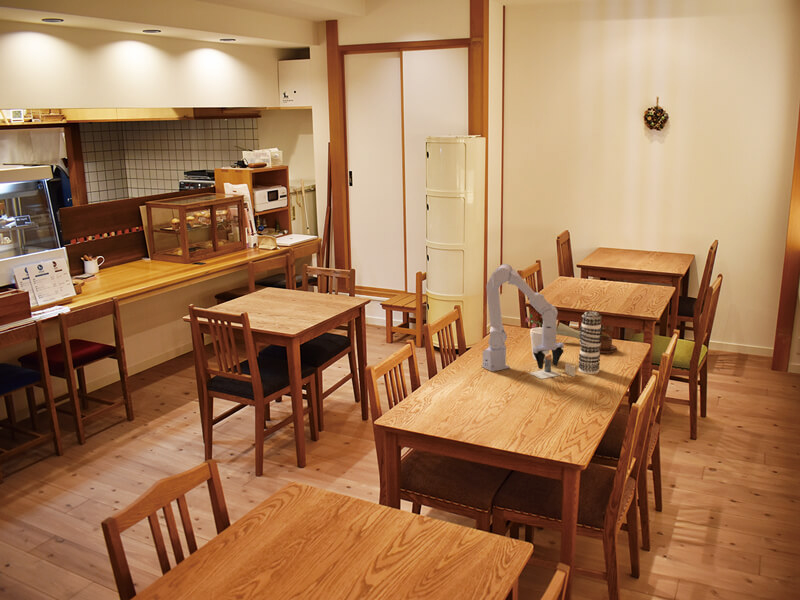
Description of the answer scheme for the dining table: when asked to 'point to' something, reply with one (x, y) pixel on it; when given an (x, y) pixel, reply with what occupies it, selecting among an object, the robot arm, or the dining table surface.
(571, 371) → the rectangular block
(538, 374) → the paper
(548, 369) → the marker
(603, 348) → the cup and saucer
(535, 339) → the foam cup
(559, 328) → the flower vase
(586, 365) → the decorative candle
